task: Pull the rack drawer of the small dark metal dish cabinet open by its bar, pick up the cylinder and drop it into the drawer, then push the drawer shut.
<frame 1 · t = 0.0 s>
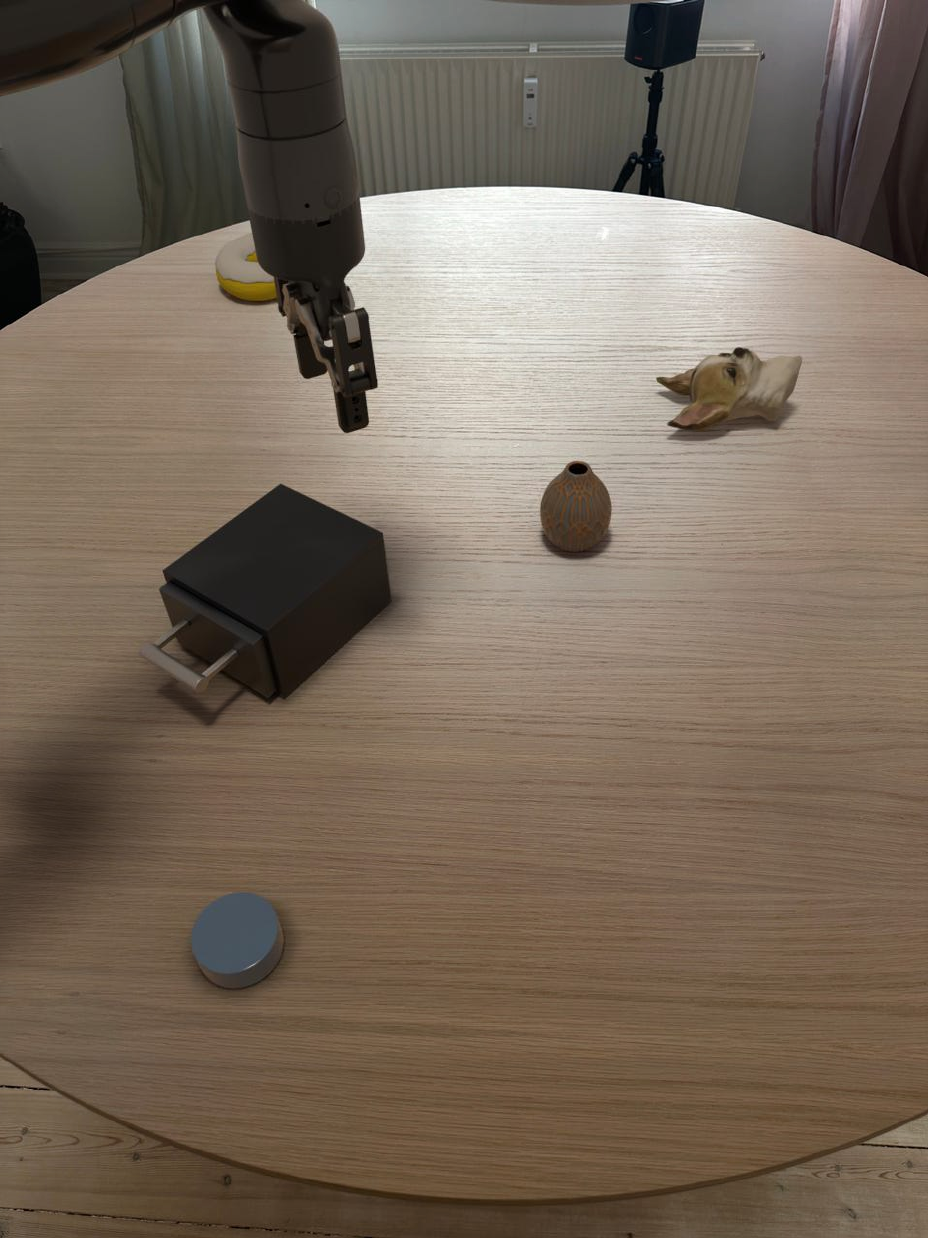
hand: (334, 400, 77), 22 cm above the table, tool pointing down, fingers open, 8 cm apart
vase: (573, 540, 98), on the table
donut: (268, 283, 139), on the table
cylinder: (241, 947, 69), on the table
drawer: (249, 614, 86), point 4 cm above the table, slide at 0.0 cm, touching cabinet
cabinet: (290, 620, 92), on the table
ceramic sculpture: (723, 416, 112), on the table
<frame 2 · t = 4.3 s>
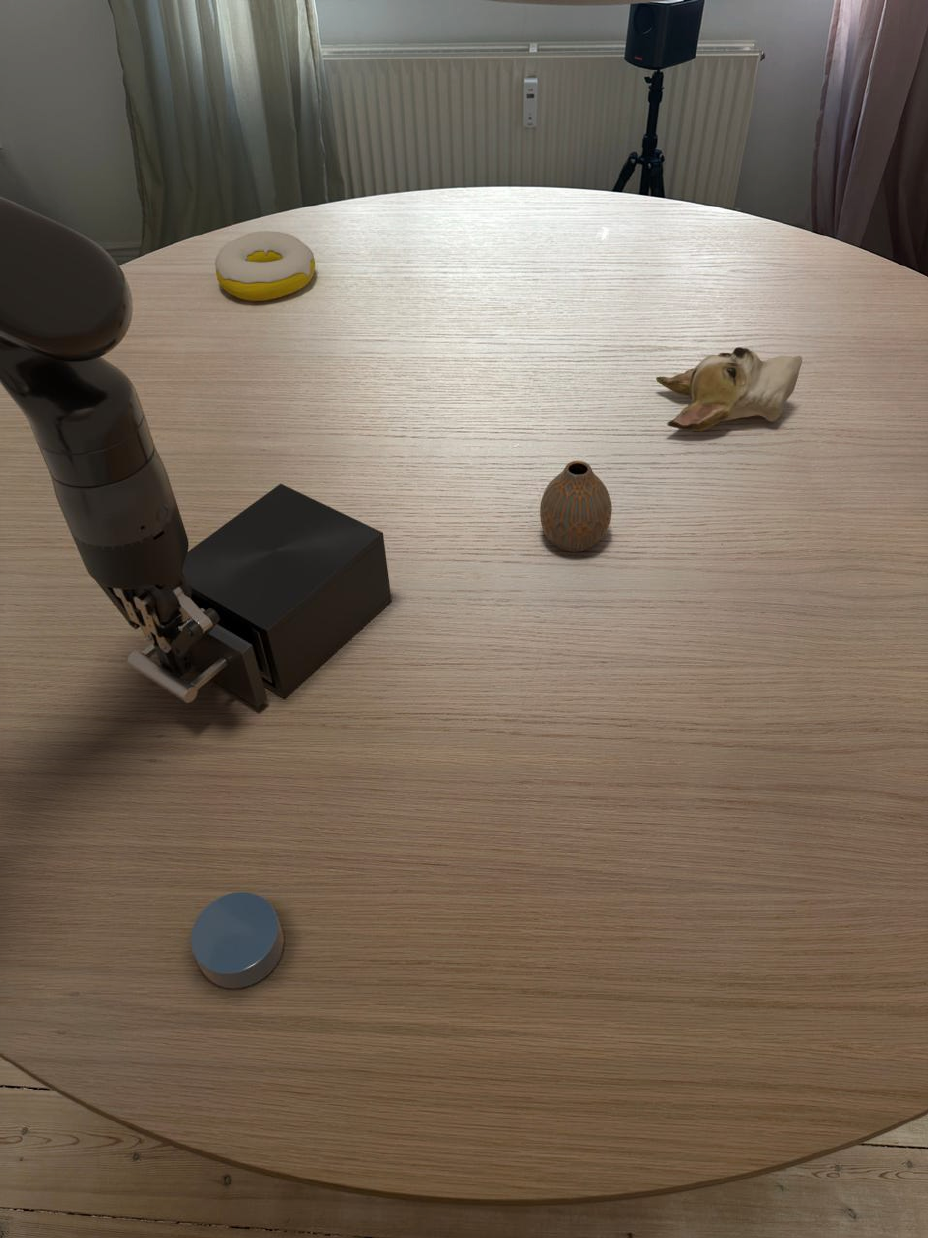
hand: (180, 669, 82), 4 cm above the table, tool pointing down, fingers closed
drawer: (239, 622, 86), point 4 cm above the table, slide at 1.2 cm
everything else where it was.
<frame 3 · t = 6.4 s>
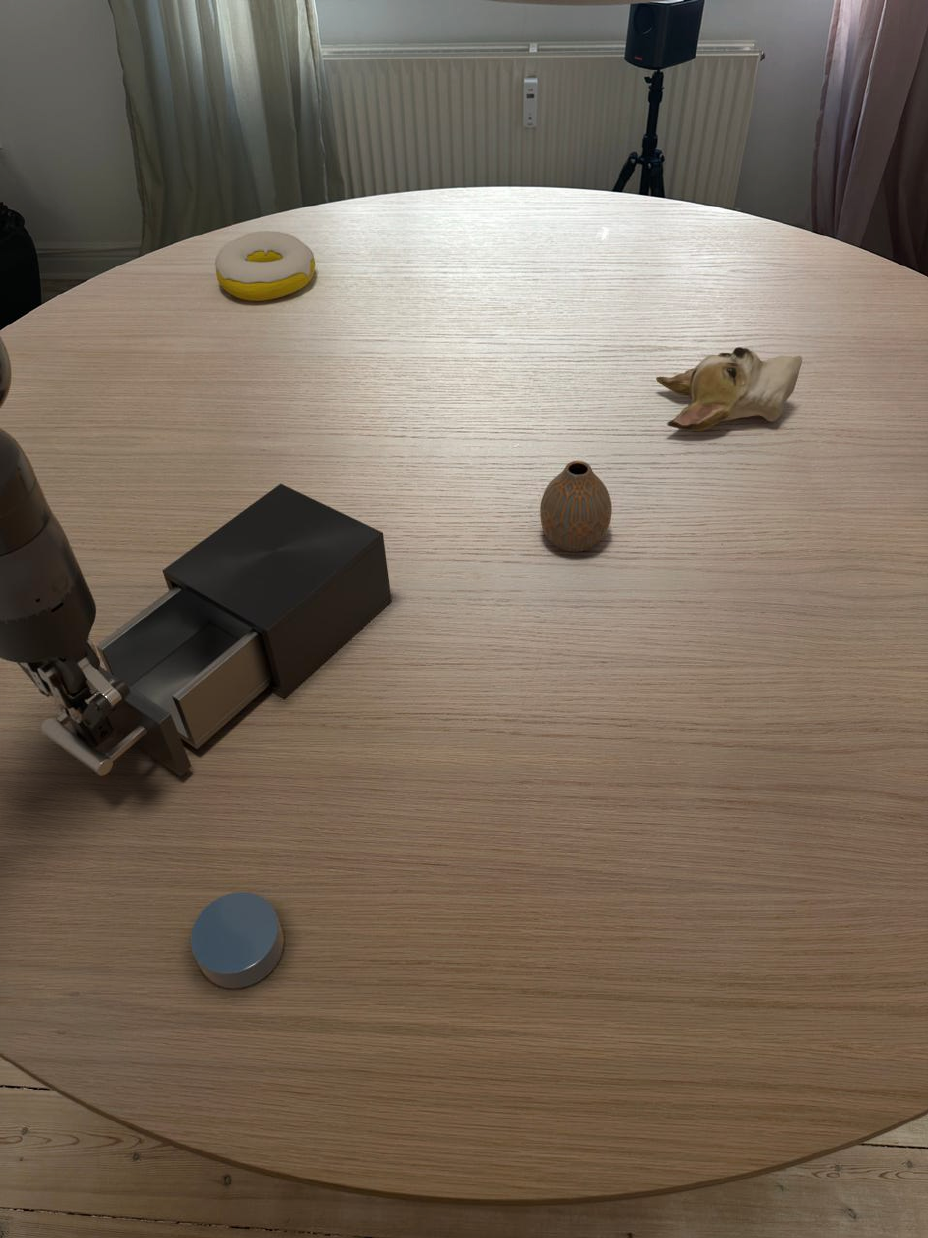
hand: (97, 737, 77), 4 cm above the table, tool pointing down, fingers closed
drawer: (163, 684, 81), point 4 cm above the table, slide at 9.9 cm
everything else where it was.
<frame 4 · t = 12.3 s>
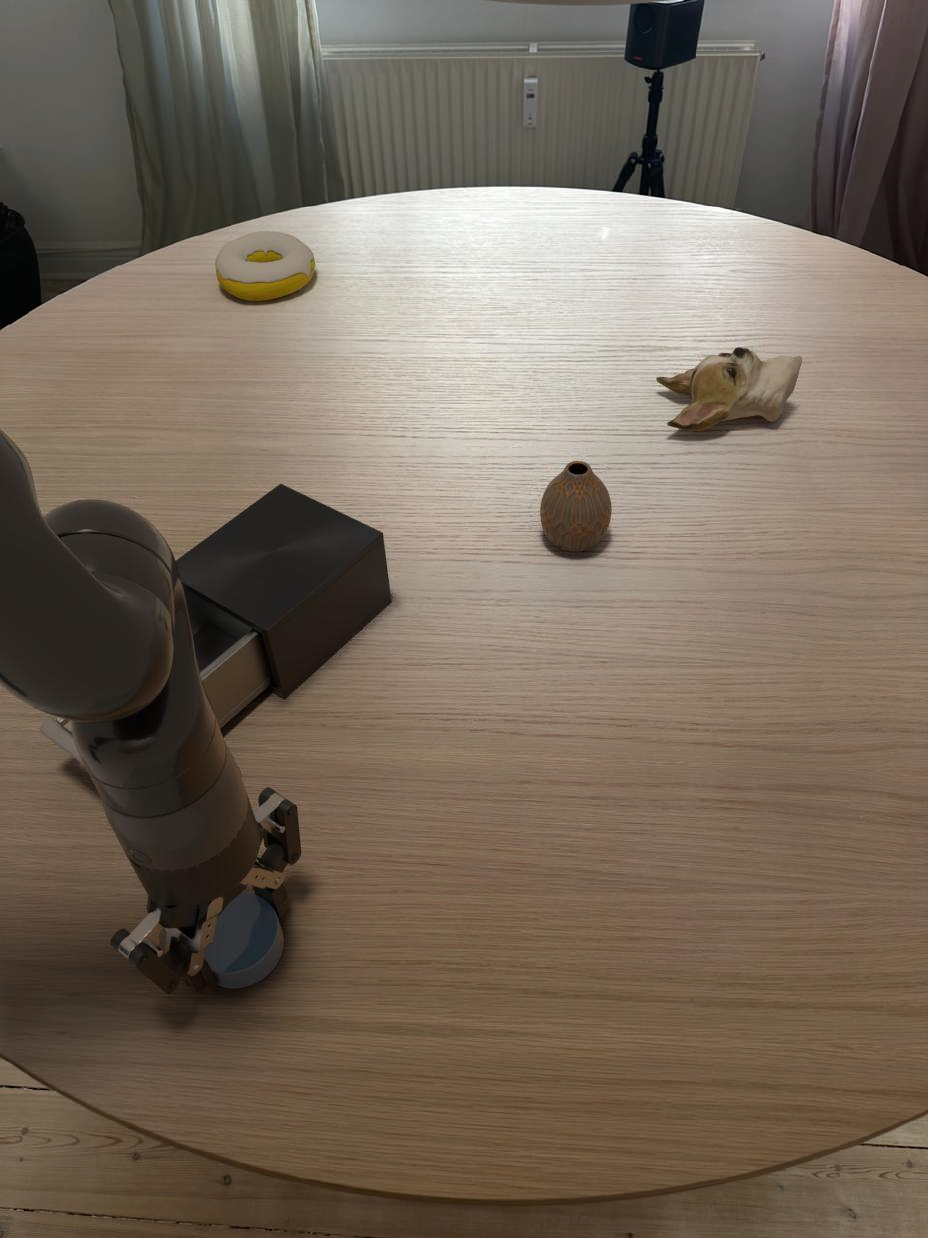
hand: (239, 943, 69), 1 cm above the table, tool pointing down, fingers closed on cylinder, 6 cm apart
cylinder: (241, 947, 69), on the table, touching gripper
everything else where it was.
when the fingers open (9 cm above the table, at t = 18.6 s): cylinder drops 6 cm, resting on drawer.
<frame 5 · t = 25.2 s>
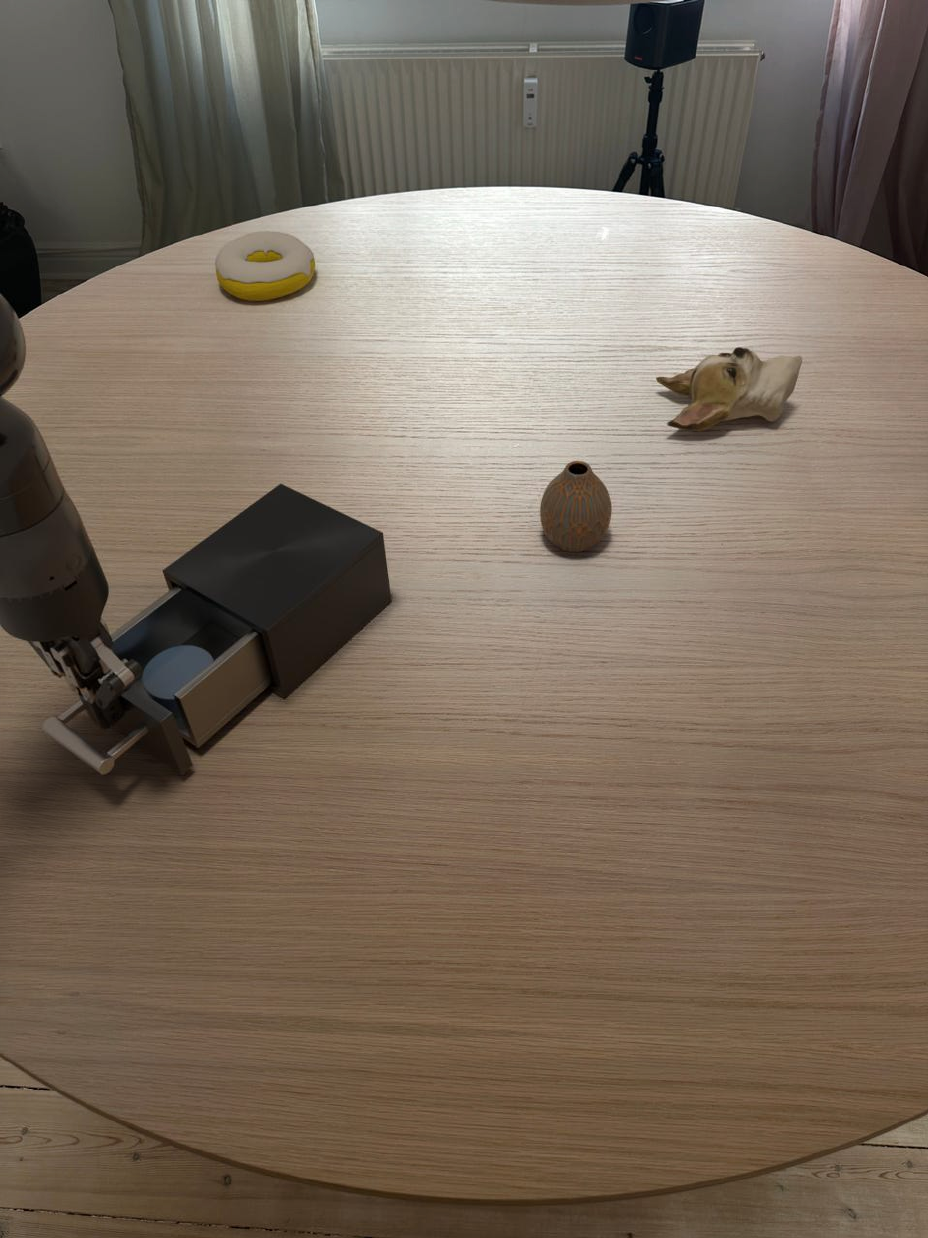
hand: (109, 718, 77), 5 cm above the table, tool pointing down, fingers closed
cylinder: (185, 689, 83), point 2 cm above the table, touching drawer
drawer: (164, 683, 81), point 4 cm above the table, slide at 9.7 cm, touching gripper, cylinder
everything else where it was.
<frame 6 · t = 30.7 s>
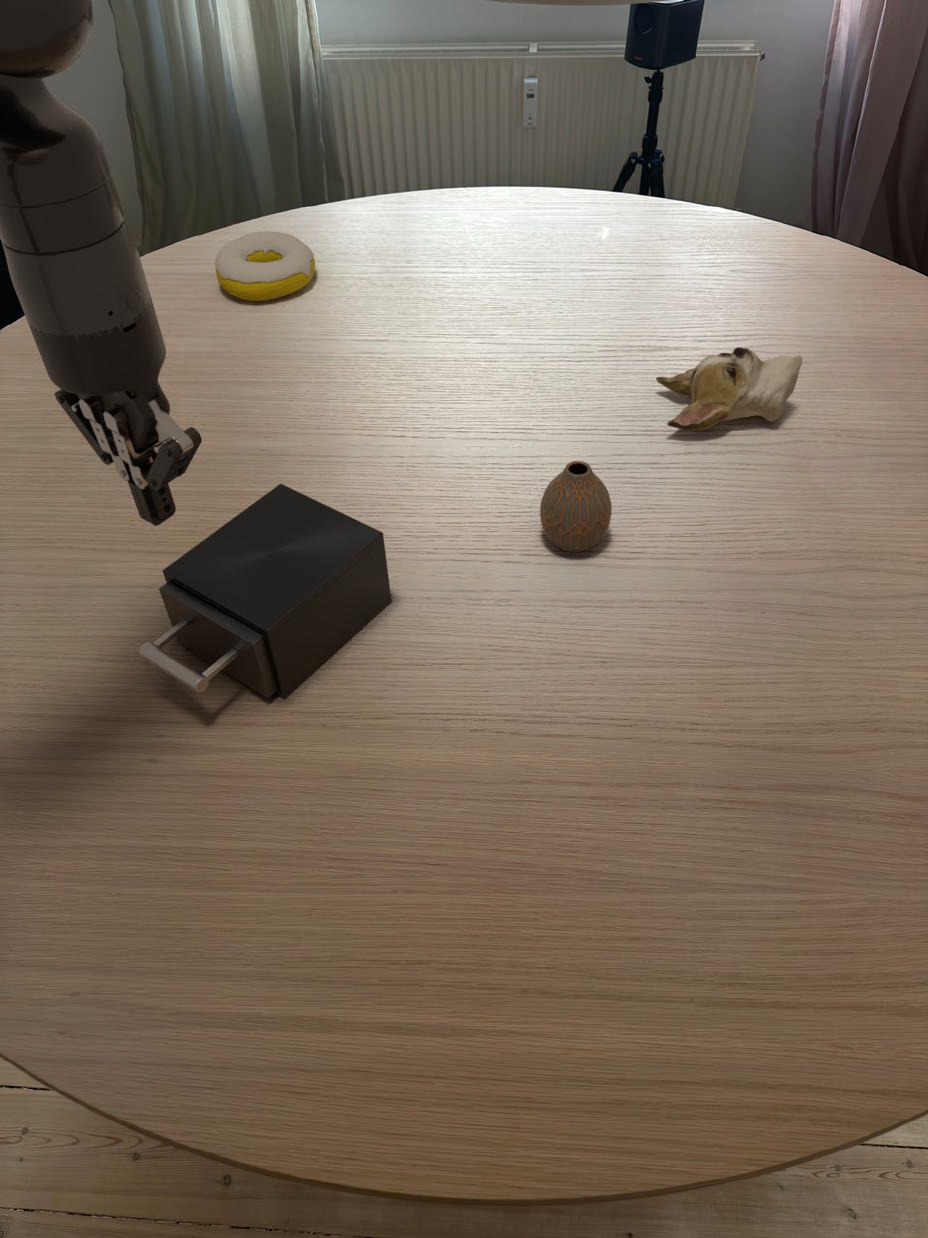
hand: (159, 516, 73), 19 cm above the table, tool pointing down, fingers closed
cylinder: (266, 622, 89), point 2 cm above the table, touching drawer
drawer: (249, 614, 86), point 4 cm above the table, slide at 0.0 cm, touching cylinder
everything else where it was.
at the end: drawer pulled out 9.9 cm at the most during the clip, back to where it started at the end; cylinder inside the target area in the cabinet (2.7 cm from its centre), point 2.0 cm above the cabinet's base; drawer slide at 0.0 cm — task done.
